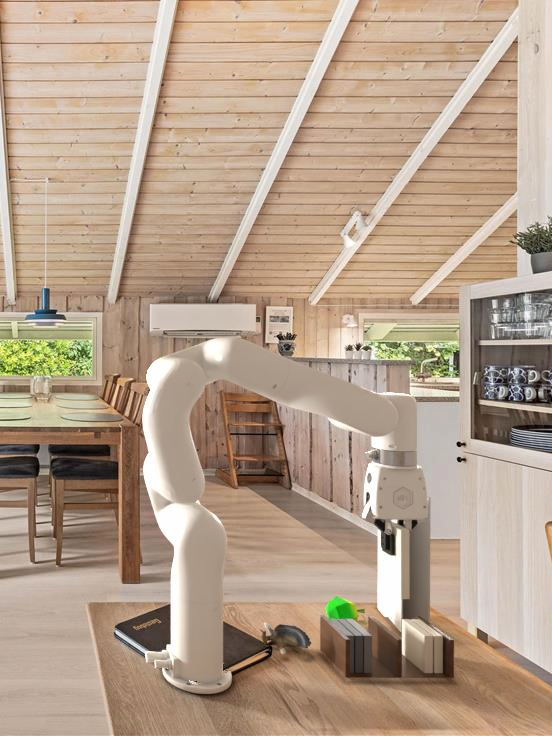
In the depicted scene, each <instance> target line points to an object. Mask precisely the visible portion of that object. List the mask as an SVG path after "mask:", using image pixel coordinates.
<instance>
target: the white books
mask: <svg viewBox="0 0 552 736" xmlns="http://www.w3.org/2000/svg"><path fill="white" fill-rule="evenodd" d="M401 640H402V655H404V656H405V657H406V658H407V659H408V660H409V661H411V662H412V663H413V664H414V665H415V666H417V667H418V668H419V669H420V670H421V671H422V672H424V673H433V672H434V673H443V636H442V635H441V634H439V633H438V632H437V631H435V630H434V629H432V628H431V627H430V626H428V625H427V624H425V623H424V622H423V621H421V620H420V619H412V620H410V619H402V633H401Z"/></svg>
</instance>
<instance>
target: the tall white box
mask: <svg viewBox="0 0 552 736" xmlns="http://www.w3.org/2000/svg"><path fill="white" fill-rule="evenodd" d="M427 502H428V514H427V521H425V522H423V523H420V524H417V525H416V526H415V527H414V528H413V529H412V530H411V534H410V535H409V599H400V598H399V597H397V596H396V595H395V594H393V593H392V592H390V591H389V590H388V589H386V588H385V587H383V586H382V585H380V530H379V529H378V528H377V610H378V611H379V612H380V614H381V615H382V616H383V617H384V618H388V619H389V620H390V621H391V623H392V624H393V625H394V626H395V627H396V628H397V629H398V631H399V632H400V634H402V619H410V620H412V619H416V616H421V617H422V618H424V619H425V620H426V621H428V622H429V623H431V497H430V496H428V495H427ZM392 521H393V522H395V523H397V520H392Z"/></svg>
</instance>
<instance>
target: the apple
mask: <svg viewBox="0 0 552 736" xmlns="http://www.w3.org/2000/svg"><path fill="white" fill-rule="evenodd" d="M365 612H366V610H365V608H360V609H357V606H356V604H355V603H354V602H352V601H350V600H348V599H345V598H343V597H340V596H338V595H337V596H335V597H333V598H332V599H331V600H329V601H328V602H327V603H326V606H325V613H326V615H327V619H336V620H337V619H353V620H355V621H356V622H357V620H358V619H359V617H360V615H359V613H361V616H362V617H363V619H364V621H365V622H366V624H368V621H367V620H366V618H365V617H364V615H362V614H365Z"/></svg>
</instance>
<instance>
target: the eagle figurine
mask: <svg viewBox="0 0 552 736" xmlns="http://www.w3.org/2000/svg"><path fill="white" fill-rule="evenodd" d="M263 625H264V628H265V629H266V630H263V629H261V628H260V629H259V631H260V632H261V636H260V639H261V641H262V644H263V643H264V644H266V645H269V647H272V646H276V647H277V650H278V651H279V652H280V654H282V655H284V656H285V655H287V651H286V648H289V649H291V650H293V651H294V652H296V653H298V654H299V655H300V654H303V653H304V652H305V651H304V649H308V648H309V647H311V645H312V641H311V639H310V637H309V635H308V634H307V633H306V632H305V631H304V630H303V629H301V628H299V627H297V625H289V624H281V623H280V624H278V625H277V626H275V627H274V629H273V628H272V627H271V626H270V624H269V623H268V622H263ZM267 632H268V633H269V634H270V635H267Z"/></svg>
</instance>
